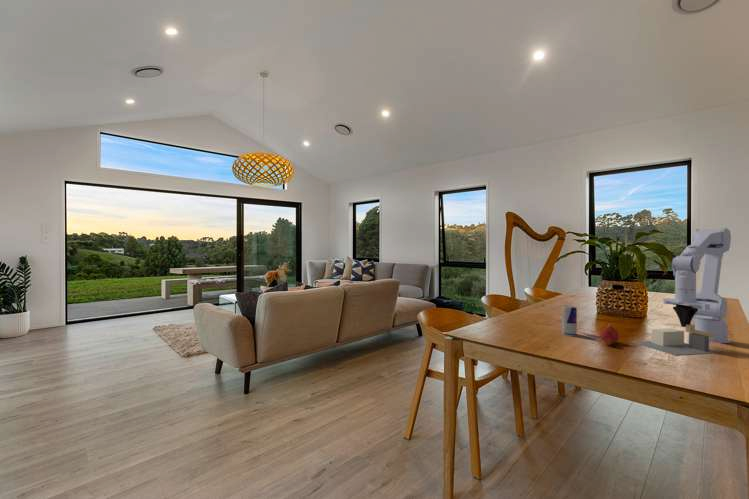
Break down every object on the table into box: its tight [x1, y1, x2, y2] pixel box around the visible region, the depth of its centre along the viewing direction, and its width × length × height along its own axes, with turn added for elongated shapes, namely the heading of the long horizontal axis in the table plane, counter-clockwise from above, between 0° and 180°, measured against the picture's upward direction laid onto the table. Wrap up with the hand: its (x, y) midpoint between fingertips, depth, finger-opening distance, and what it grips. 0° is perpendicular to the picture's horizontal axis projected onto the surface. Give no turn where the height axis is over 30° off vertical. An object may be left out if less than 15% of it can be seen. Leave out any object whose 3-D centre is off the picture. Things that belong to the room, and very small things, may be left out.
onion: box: [599, 323, 620, 346], centre depth 131 cm, size 6×6×8 cm
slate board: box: [629, 332, 721, 357], centre depth 126 cm, size 18×18×6 cm
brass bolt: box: [685, 323, 715, 337], centre depth 122 cm, size 2×8×3 cm, turn 10°
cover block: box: [650, 327, 685, 346], centre depth 130 cm, size 9×4×5 cm, turn 100°
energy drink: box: [561, 304, 578, 337], centre depth 146 cm, size 5×5×12 cm
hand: (685, 326), depth 127 cm, fingers closed
